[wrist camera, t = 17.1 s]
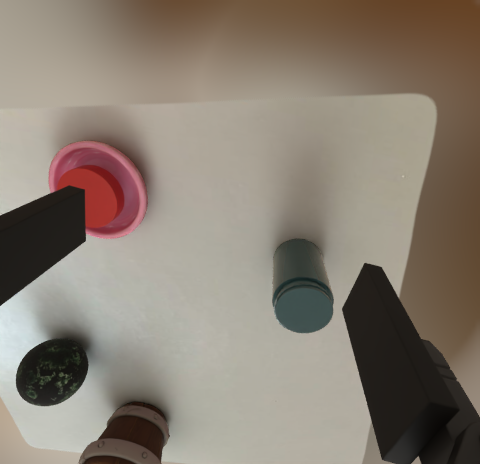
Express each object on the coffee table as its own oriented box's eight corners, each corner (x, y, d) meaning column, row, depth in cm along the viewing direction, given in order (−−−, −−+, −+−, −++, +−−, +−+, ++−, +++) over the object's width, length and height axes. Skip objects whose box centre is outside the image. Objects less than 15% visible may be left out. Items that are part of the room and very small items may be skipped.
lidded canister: (299, 229, 39) (306, 274, 29) (332, 261, 40) (349, 313, 31) (263, 259, 41) (259, 309, 32) (296, 288, 43) (301, 344, 33)
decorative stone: (72, 318, 50) (28, 367, 41) (110, 357, 53) (77, 411, 44) (34, 336, 53) (-15, 386, 44) (72, 373, 56) (34, 426, 47)
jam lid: (105, 232, 39) (97, 239, 37) (56, 194, 37) (46, 199, 35) (135, 194, 36) (128, 199, 34) (85, 151, 34) (75, 154, 32)
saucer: (65, 218, 42) (50, 227, 39) (60, 127, 37) (42, 130, 34) (150, 238, 42) (141, 249, 39) (158, 150, 36) (148, 155, 34)
